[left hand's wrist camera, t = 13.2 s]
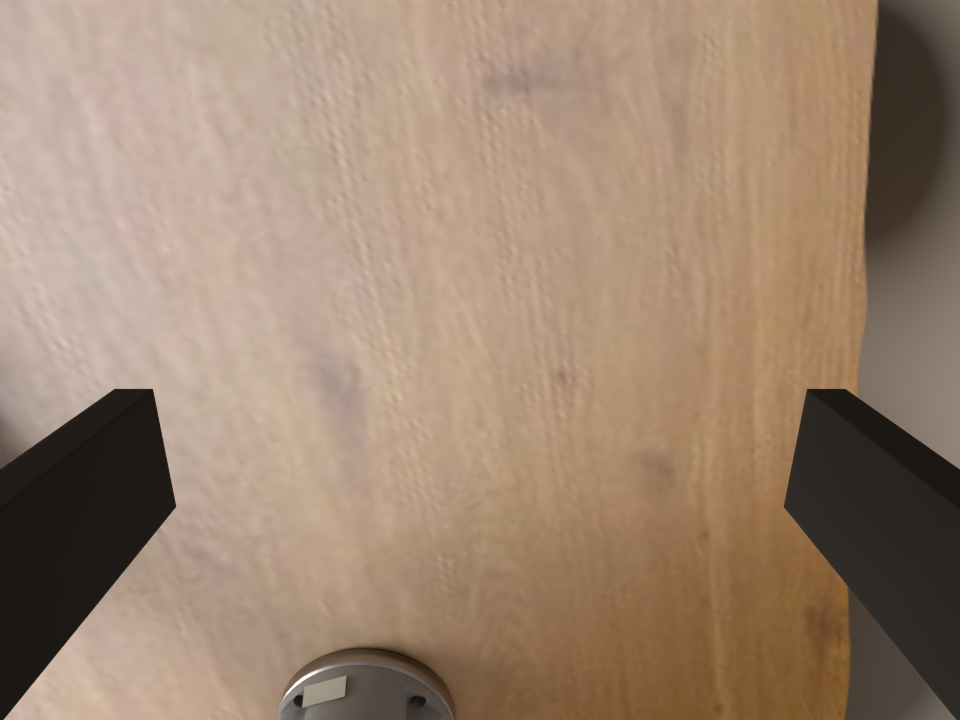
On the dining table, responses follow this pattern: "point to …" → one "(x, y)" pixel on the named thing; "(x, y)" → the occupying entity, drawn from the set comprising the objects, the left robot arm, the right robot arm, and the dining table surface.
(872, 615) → the left robot arm
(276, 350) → the dining table surface
